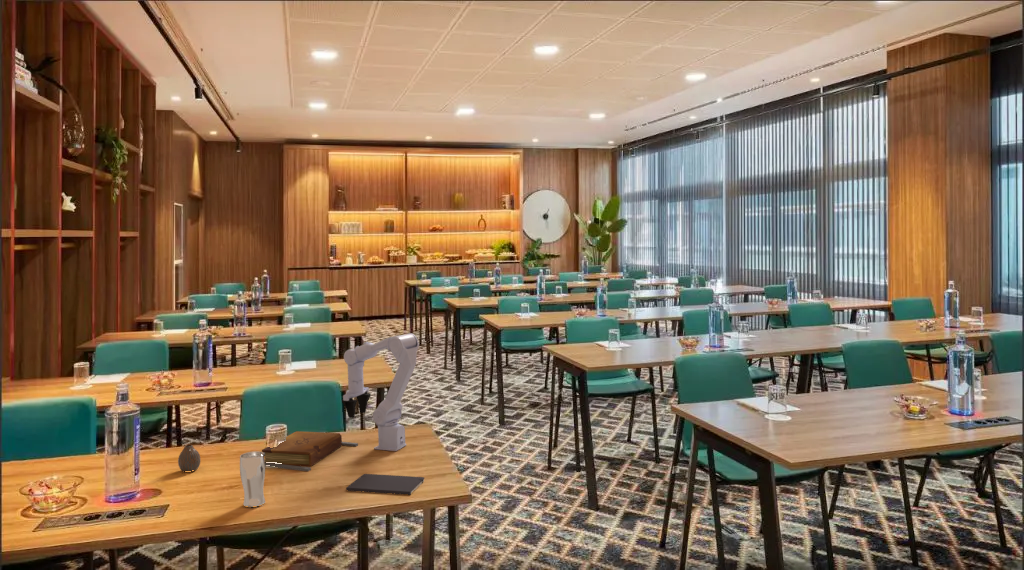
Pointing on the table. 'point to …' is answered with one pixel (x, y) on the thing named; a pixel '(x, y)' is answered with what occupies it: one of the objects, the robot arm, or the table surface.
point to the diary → (303, 448)
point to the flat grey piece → (301, 466)
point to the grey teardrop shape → (189, 459)
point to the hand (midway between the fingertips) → (357, 415)
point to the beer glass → (252, 477)
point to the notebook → (386, 484)
